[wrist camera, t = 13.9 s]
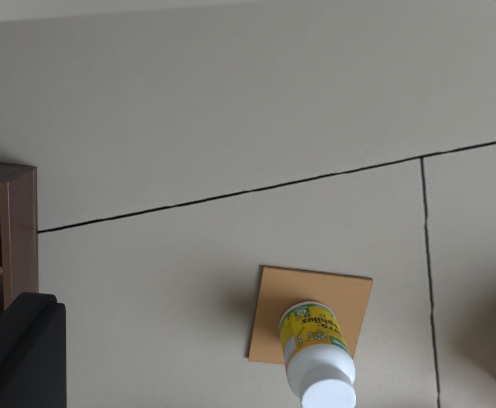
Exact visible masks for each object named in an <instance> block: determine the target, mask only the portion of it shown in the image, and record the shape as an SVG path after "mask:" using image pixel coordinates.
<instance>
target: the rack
mask: <svg viewBox="0 0 496 408" xmlns="http://www.w3.org/2000/svg"><path fill="white" fill-rule="evenodd" d="M22 292H32V293H39V291H38V223H37V167H30V166H22V165H14V164H6V163H0V316H1V314H2V313H3V312H4V311H5V310H6V309H7V308H8V307H9V305H10V304H11V303H12V302H13V301H14V300H15V299H16V298H17V296H18V295H19V294H21V293H22Z"/></svg>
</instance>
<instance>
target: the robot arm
mask: <svg viewBox="0 0 496 408" xmlns="http://www.w3.org/2000/svg"><path fill="white" fill-rule="evenodd" d="M0 408H67V397H66V309H65V305H64V304H63V303H57V299H56V296H55V295H52V294H42V293H32V292H22V293H21V294H19V295H18V296H17V298H16V299H15V300H14V301H13V302H12V303H11V304H10V305H9V307H8V308H7V309H6V310H5V311H4V312H3V313H2V314H1V316H0Z"/></svg>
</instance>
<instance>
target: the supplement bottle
mask: <svg viewBox="0 0 496 408" xmlns="http://www.w3.org/2000/svg"><path fill="white" fill-rule="evenodd" d="M279 330H280V338H281V344H282V350H283V356H284V363H285V369H286V375H287V380H288V383H289V386H290V388H291V390H292V391H293V392H294V393H295V395H296V396H298V397H299V398H300V401H301V406H302V408H354V406H355V403H356V394H355V391H354V388H353V382H354V379H355V367H354V363H353V360H352V357H351V355H350V353H349V350H348V347H347V345H346V342H345V340H344V337H343V335H342V332H341V330H340V327H339V325H338V322H337V320H336V318H335V315H334V314H333V312H332V311H331V310H330V309H329V308H328V307H327V306H325V305H323V304H321V303H318V302H312V301H307V302H302V303H299V304H296V305H294V306H292V307H291V308H289V309H288V310H287V311H286V312H285V313H284V315H283V316H282V318H281V321H280V327H279Z"/></svg>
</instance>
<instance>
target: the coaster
mask: <svg viewBox="0 0 496 408" xmlns="http://www.w3.org/2000/svg"><path fill="white" fill-rule="evenodd" d="M372 283H373V280H372V279H370V278H361V277H353V276H344V275H336V274H327V273H319V272H311V271H302V270H294V269H285V268H277V267H268V266H263V272H262V278H261V284H260V290H259V296H258V302H257V308H256V314H255V320H254V326H253V332H252V338H251V344H250V350H249V356H248V361H254V362H264V363H273V364H283V365H285V363H284V356H283V350H282V344H281V338H280V330H279V327H280V321H281V318H282V316H283V315H284V313H285V312H286V311H287V310H288V309H289V308H291V307H292V306H294V305H296V304H299V303H302V302H307V301H312V302H318V303H321V304H323V305H325V306H327V307H328V308H329V309H330V310H331V311H332V312H333V314H334V315H335V318H336V320H337V322H338V325H339V327H340V330H341V332H342V335H343V337H344V340H345V342H346V345H347V347H348V350H349V353H350V355H351V357H352V360H353V357H354V353H355V349H356V345H357V341H358V337H359V333H360V330H361V326H362V322H363V318H364V314H365V310H366V306H367V302H368V299H369V295H370V291H371V287H372Z"/></svg>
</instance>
